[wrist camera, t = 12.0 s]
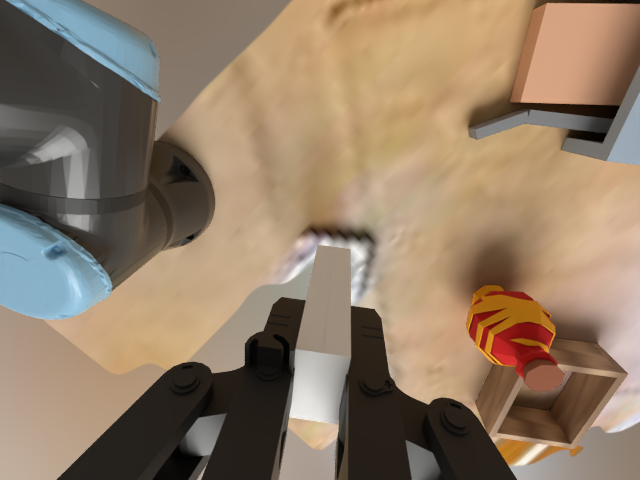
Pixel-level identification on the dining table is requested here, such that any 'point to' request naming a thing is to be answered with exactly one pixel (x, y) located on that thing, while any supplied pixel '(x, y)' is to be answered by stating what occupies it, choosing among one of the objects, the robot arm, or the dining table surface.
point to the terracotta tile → (579, 54)
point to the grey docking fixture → (584, 127)
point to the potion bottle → (515, 335)
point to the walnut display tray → (568, 410)
